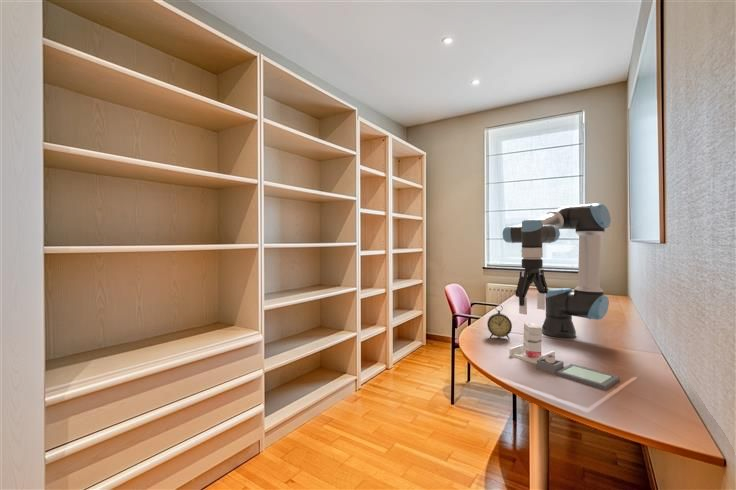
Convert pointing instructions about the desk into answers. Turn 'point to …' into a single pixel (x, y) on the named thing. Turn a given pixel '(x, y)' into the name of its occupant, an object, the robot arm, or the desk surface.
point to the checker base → (586, 381)
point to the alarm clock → (499, 324)
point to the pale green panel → (587, 374)
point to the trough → (520, 354)
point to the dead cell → (550, 359)
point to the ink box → (532, 340)
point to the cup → (549, 365)
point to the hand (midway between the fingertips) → (532, 311)
